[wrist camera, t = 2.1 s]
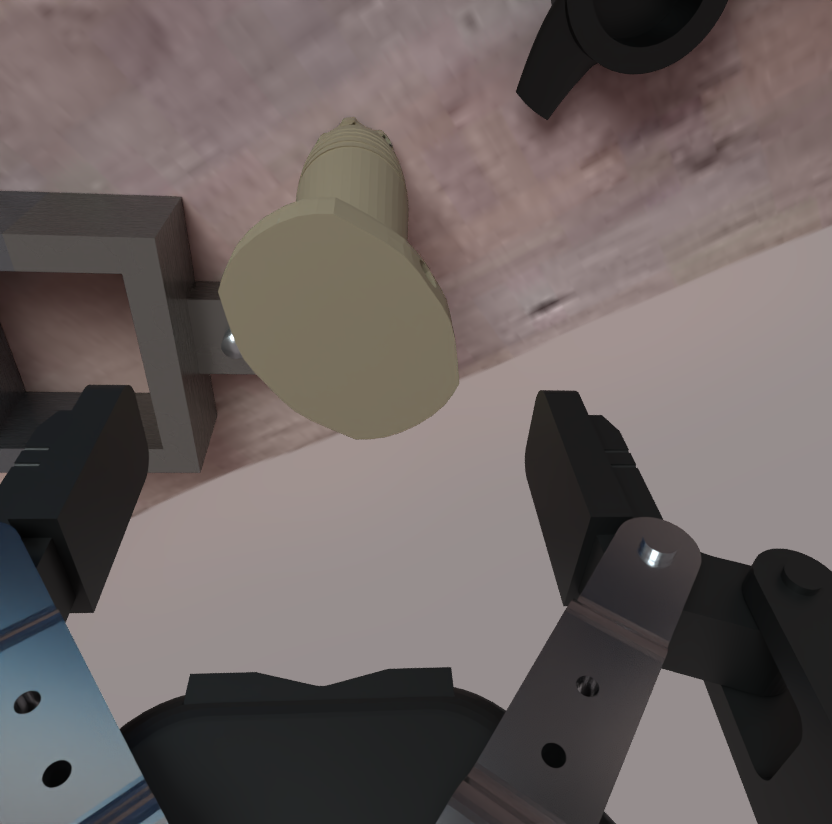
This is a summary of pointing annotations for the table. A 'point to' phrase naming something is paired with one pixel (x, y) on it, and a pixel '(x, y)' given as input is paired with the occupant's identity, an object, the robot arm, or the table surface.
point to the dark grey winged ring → (610, 42)
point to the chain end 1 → (3, 389)
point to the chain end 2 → (144, 306)
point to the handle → (343, 296)
